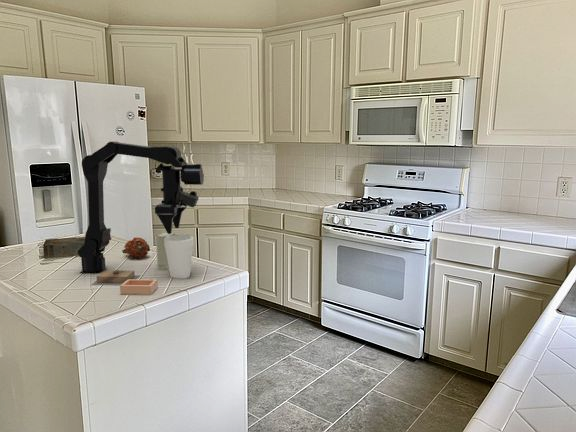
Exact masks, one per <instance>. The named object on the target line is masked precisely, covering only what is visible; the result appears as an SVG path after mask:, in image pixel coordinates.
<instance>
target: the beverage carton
mask: <svg viewBox="0 0 576 432" xmlns="http://www.w3.org/2000/svg"><path fill="white" fill-rule="evenodd" d="M84 241H85V236H80V237H79V236H78V237H65V238H64V237H63V238H48V239H47V238H46V239H45V241H44V242H43V244H42V245H43V246H42V248H43V249H42V250H43V251H42V252H43V256H44V257H43V258H44V259H55V257H56V258H65V257H77V255H78V252H77V251H78V250H79V249H80V248H81V247H82V246H83V245H84Z"/></svg>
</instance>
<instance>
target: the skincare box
mask: <svg viewBox="0 0 576 432" xmlns="http://www.w3.org/2000/svg"><path fill="white" fill-rule="evenodd" d="M174 235H176V233H173V232H171V234H168V233H167V232H164V233H160V234H159V235H156V236H155V237H156V258H157V260H156V261H157V265H156V266H157V270H163V271H169V266H168V260H167V254H166V249H165V246H164V238H166V237H168V236H174Z"/></svg>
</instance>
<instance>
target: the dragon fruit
mask: <svg viewBox="0 0 576 432" xmlns="http://www.w3.org/2000/svg"><path fill="white" fill-rule="evenodd" d="M150 251H151V248H150V245H149V244H148V241H146V240H145V239H144V238H143V237H133V239H131V240H128V241H127V242H126V243H125V245H124V246H123V249H122V250H121V252H122V253H123V254H127V255H128V257H129V258H131V259H143V257H145V256H147V255H148V253H149V252H150Z"/></svg>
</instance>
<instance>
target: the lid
mask: <svg viewBox="0 0 576 432" xmlns="http://www.w3.org/2000/svg"><path fill="white" fill-rule="evenodd" d="M135 275H136V273H135V270H122V269H121V270H116V269H115V270H112V269H110V270H109V269H105V270H103V271H102V272H100V273H98V275H96V281H97V283H124V282H125V281H126V280H128V279H133V278H134V277H135Z"/></svg>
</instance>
